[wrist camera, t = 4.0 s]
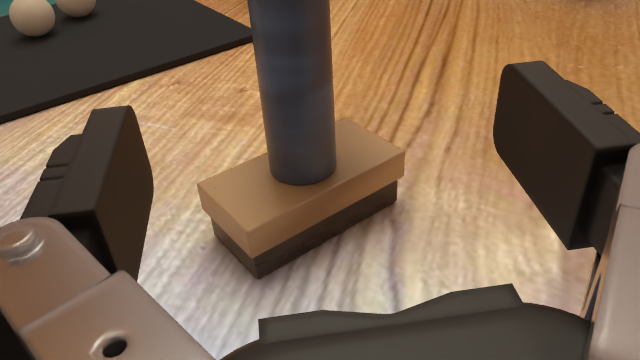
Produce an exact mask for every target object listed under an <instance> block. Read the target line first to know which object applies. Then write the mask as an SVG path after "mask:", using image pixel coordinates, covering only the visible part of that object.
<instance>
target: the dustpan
mask: <svg viewBox="0 0 640 360" xmlns="http://www.w3.org/2000/svg"><path fill="white" fill-rule="evenodd" d="M13 1H14V0H0V17H2V16H6V15H9V8H10V5H11V3H12V2H13ZM46 1H47V2H48V3H49V4H50V5H52V4H56V2H55V0H46Z"/></svg>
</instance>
